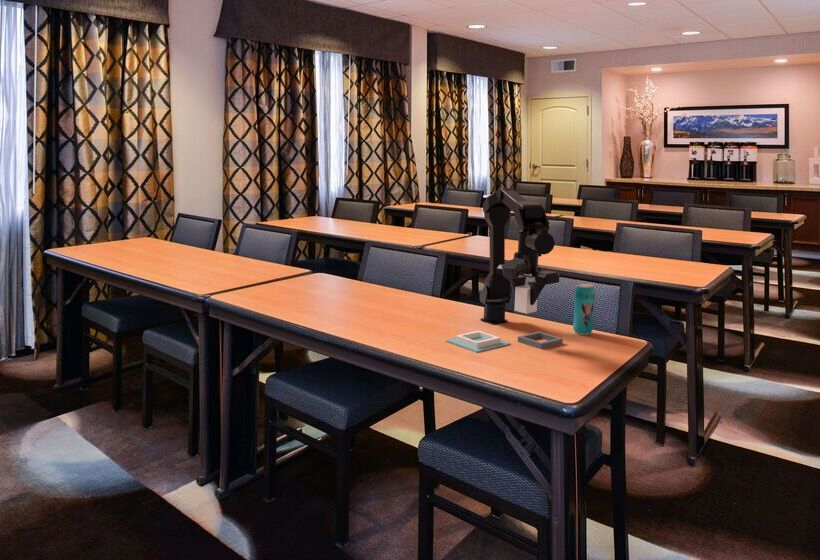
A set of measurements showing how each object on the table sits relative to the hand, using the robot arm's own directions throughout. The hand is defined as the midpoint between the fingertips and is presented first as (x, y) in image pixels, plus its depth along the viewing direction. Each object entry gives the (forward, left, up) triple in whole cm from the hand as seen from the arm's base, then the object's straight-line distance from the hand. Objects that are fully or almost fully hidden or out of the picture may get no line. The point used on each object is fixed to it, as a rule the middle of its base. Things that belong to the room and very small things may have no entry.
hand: (525, 303), depth 177 cm
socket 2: (+3, +4, -12) cm, 12 cm away
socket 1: (-7, -11, -12) cm, 18 cm away
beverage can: (+4, +22, -12) cm, 25 cm away
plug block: (0, 0, -2) cm, 2 cm away
